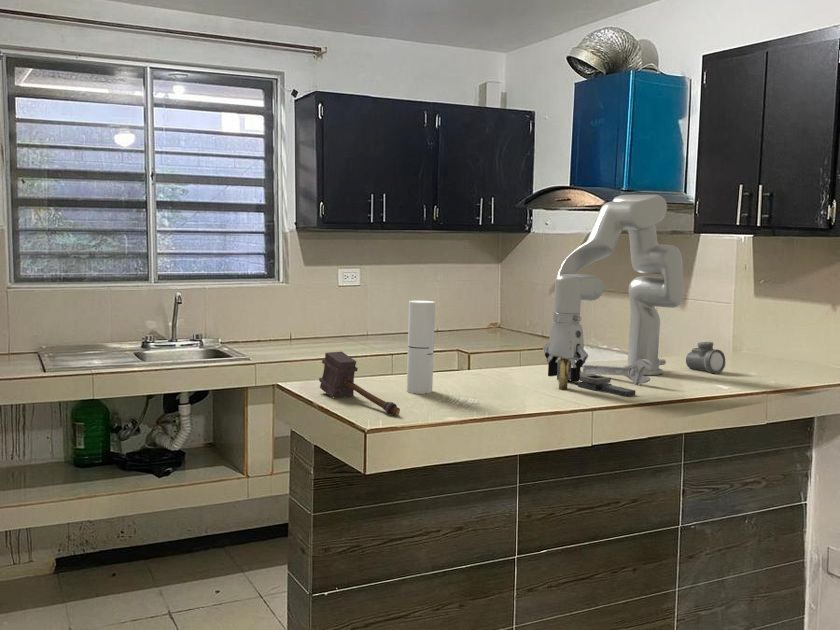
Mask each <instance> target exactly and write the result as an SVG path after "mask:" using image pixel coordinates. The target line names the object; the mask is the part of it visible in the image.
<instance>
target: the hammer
mask: <svg viewBox="0 0 840 630" xmlns="http://www.w3.org/2000/svg"><path fill="white" fill-rule="evenodd" d="M321 364H323V365H324V366H323V372H322V375H321V376H322V377H319V379H318V381H319V382H320V386H319V388H320V389H321V390H322V391H323V392H324V393H326V394H327V395H328V396H329V397H331V398H332V397H340V398H345V397H344V396H349V397H354V396H355V395H354V391H355V392H357V393H358V394H359V395H360V396H362V397H364V398H365V399H367V400H368V401H370V402H371V403H373V404H375V405H377V406H378V407H379V408H381V409H382V410H384V412H386V413H387V415H388V414H393V415H394V416H399V415H400V411H401V409H400V407H398V405H397V404H396V403H395V402H393V401H385V400H383V399H381V398H380V397H378V396H375V395H374V394H372V393H370V392H368V391H367V390H366V389H364V388H362V387H360V386H359V385H358V384H357V383H355V381H354V380H355V373H356V372H358V367H356V366H357V361H356V359H354V358H352V357H351V356H349V355H348V354H346V353H344V352H343V351H331V352H325V354H324V358H323V359H321Z"/></svg>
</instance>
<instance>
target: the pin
mask: <svg viewBox="0 0 840 630" xmlns="http://www.w3.org/2000/svg"><path fill="white" fill-rule="evenodd" d="M559 359H560V376H559V380H558V390H561V391H567V390H568V383H569V382H568V381H569V380H568V365H569V359H565V358H560V357H559Z"/></svg>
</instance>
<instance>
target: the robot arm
mask: <svg viewBox="0 0 840 630" xmlns="http://www.w3.org/2000/svg"><path fill="white" fill-rule="evenodd" d="M667 212H668V205H667V201H666V200H665V198H664V197H663V196H661V195H659V194H621V195H618V196H615V198H613V199H612V201H608V202H605V203H604V204H603V205H602V206H601V207H600V210H599V212H598V214H597V216H596V219H595V221H594V223H593V226H592V228H591V229H590V232H589V235H588V237H587V239H586V241H585V242H584V243H583V244H581V245H579V246H578V247H577V248H576V249H574V251H572V252H571V253H570V254H569V255H568V256H567V257H565V259H564V261H562V263H561V266H560V268H559V270H558V273H557V275H556V277H555V281H554V297H553V298H554V299H553V315H552V316H553V317H552V318H553V319H552V322H551V325H550V330H549V338H548V342H547V343H546V344H545V345H543V347H542V350H543V353H544V356H545V358H546V362H547V363H548V365H547V367H548V368H547V377H557V368H558V359H560V358H565V359H570V361H571V364H572V365H571V376H570V380H569V381H570V382H571V383H572V382H574V383H575V382H580V369H581V368H582V365H583V364H585V363H586V360H587V359H588V358H589V353H588V352H587V351H586V350H585V349H584V343H585V342H584V331H583V330H584V329H583V326H582V324H581V323H580V322H581V321H582V320H583V319H582V316H581V304H582V303H581V302H582V301H585V302H586V301H590V302H591V301H596V300H598V299H600V298H601V296H602V295H603V293H604V288H605V285H604V282H603V280H602V279H601V278H600V277H598V276H596V275H593V274H584V273H579V272H580V271H581V270H582V269H583V268H584V267H586V266H588V265H590V264H592V263H594V262H596V261H600V260H602V259H605V258H608V257H609V256H611V255H612V254H613V253H614V251H615V249H616V246H617V244H618V241H619V239H620V237H621V234H622V232H623V231H625V230H627V232H628V237H629V249H630V262H631V266H632V269H633V270H634V271H635V272H637V273H640V274H648V275H649V274H651V276H650V275H649V276H648V275H644V276H643V275H641V276H637V277H635V278H633V279H631V281H630V282H629V284H628V298H629V305H630V306H629V308H630V310H629V311H630V312H629V313H630V314H629V317H630V318H629V335H628V347H627V348H628V352H627V365H624V366H623V367H625V366H628V365H631V364H633V363H635V362H637V361H638V360H643V359H646V360H649V361H650V362H651V363H652V364H653V366H654V369H653V370H650V369H648V368H646V367H645V368H644V369H643V375H644V376H657V375H661V374H662V373H663V369H661V368H660V366H664V365H666V362H667V361H666V360H665V359H664V358H663V359H660V357H659V347H660V345H659V344H660V330H661V329H660V328H661V318H660V314H659V312H658V311H657V309H656V308H657V307H658V308H668V309H670V308H672V309H673V308H678V307H679V306H681V304H682V302H683V300H684V295H685V286H684V284H685V283H684V265H683V256H682V253H681V250H680V249H679V248H678V246H676V245H672V244H660V243H658V242H659V241H658V236H657V235H658V234H657V227H656V224H659V223H660V222H661V221H662V220H664V219H665V217H666V215H667ZM652 275H661V276H662V277H661V276H652ZM580 367H581V368H580Z"/></svg>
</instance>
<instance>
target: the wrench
mask: <svg viewBox="0 0 840 630" xmlns="http://www.w3.org/2000/svg"><path fill="white" fill-rule="evenodd" d="M627 365H628V364H627ZM627 365H624V366H625V367H624V366H619V365H617V366H616V365H603V364H602V365H600V364H585V363H584V364H583V365H582V367H580V372H582V373H586V374H591V375H594V374H595V375H600V376H606V375H607V376H622V377H626V378H628V379H629V380H630V381H632V384H633V385H635V386H639V385H640V384H646V383H649V382H650V381H651V378H650V377H649V376H648V375H643V369H644V368H645V367H646V368H648V369H650V370H653V369H654V366H653V364H652V363H651V362H650V361H649V360H646V359H643V360H638V361H637V362H635V363H633V364H631V365H628V366H627ZM581 368H582V370H581Z"/></svg>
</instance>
